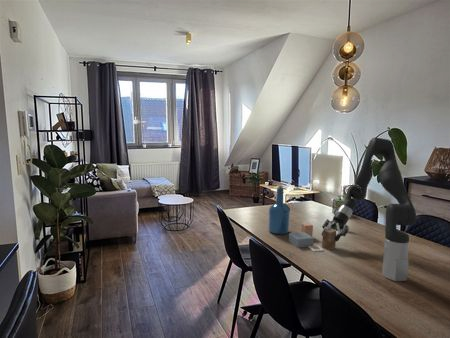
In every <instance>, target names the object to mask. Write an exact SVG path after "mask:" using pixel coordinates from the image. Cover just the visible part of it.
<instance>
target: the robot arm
mask: <svg viewBox="0 0 450 338" xmlns="http://www.w3.org/2000/svg"><path fill="white" fill-rule="evenodd" d="M395 152H396V151H395V148H394V143H393V141H392V140H390V139H386V138H381V137H372V138H371V139H370V140H369V142H368V144H367V147H366V149H365V154H364V157H363V161H362V165H361V166H360V170H359V172H358V174H357V177H356V178H355V181H354V183H355V185H354V184H351V185H349V187H348V188H347V190H346V194H345V198H344V199H345V200H344V202H343V204H342V205H341V207H340V208H339V209H338V211H337V212H336V214H334V215H333V218H332V220H329V219H328V218H327V219H326V220H325V222H324V223H323V224H322V226H321V227H322V230H325V229H332V230H335V231H336V232H337V233H336V237H335V239H334V240H335V241H336V242H338V241H339V240H340V238H341V237H346V235H347V234H348V231H349V229H350V227H349V226H348V224H347V223H348V221H349V220H350V218H351V217H352V214H353V212H354V210H355V209H356V207H357V202H358V201H359V202H363V201H364V200H365V199H366V197H367V193H368V192H367V191H368V186H369V184H370V182H371V180H372V178H373V176H374V175H373V174H374V170H373V165H372V159H373V157H374V156H378V157H382V158H383V159H384V164H383V165H382V166H381V168H380V170H379V173H378V174H379V175H378V176H379V180H380V183H381V186H382V188H384V190H385V191H386V192H387V193H389V194H390V195H391V196H392V197H393V198H394V199H396V201H397V203H389V204H388V205H387V206H386V208H385V225H384V226H385V228H384V231H385V233H384V235H385V236H384V245H383V246H384V247H383V256H382V257H383V259H382V271H381V274H382V276H383V277H384V278H386V279H387V280H388V279H389V280H391V281H393V282H405V281H408V273H409V263H410V261H409V259H408V254H409V242H410V235H409V234H408V233H406V232H405V231H402V230H399V229H398V228H397V226H409V227H410V226H414V225H415V224H416V222H417V213H416V209H415V206H414V204H413V202H412V200H411V198H410V196H409V194H408V192H407V189H406V186H405V183H404V182H405V181H404V179H403V176H402V173H401V170H400V168H399V165H398V162H397V158H396V157H397V156H396V153H395ZM355 200H357V202H356V201H355ZM330 226H331V227H330ZM341 229H342V230H341ZM321 236H322V237H323V231H322V232H321Z"/></svg>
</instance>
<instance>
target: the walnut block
mask: <svg viewBox="0 0 450 338" xmlns="http://www.w3.org/2000/svg"><path fill="white" fill-rule="evenodd" d="M322 232H323V236H322V239H321V241H322V242H321V248H322V249H325V250H328V251H332V250H335V249H336V243H337V241H335V240H334V239H335V237H336V235H337V231H336V230H333V229H328V228H327V229H325V230H324V229H322Z"/></svg>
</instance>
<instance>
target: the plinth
mask: <svg viewBox="0 0 450 338" xmlns="http://www.w3.org/2000/svg"><path fill="white" fill-rule="evenodd" d="M314 239H315V237H313V236H312V237H311V236H310V235H308V234H307V233H305V232H301V231H299V232H291V233H289V232H288V242H289V243H291V244H292V245H294V246H295V247H296V248H305V247H306V248H307V247H308V246H314V241H315V240H314Z"/></svg>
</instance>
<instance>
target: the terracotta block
mask: <svg viewBox="0 0 450 338" xmlns="http://www.w3.org/2000/svg"><path fill="white" fill-rule="evenodd" d="M313 230H314V225H313V224H312V223H310V222H301V230H300V232H305V233H307V234H308V235H310V236H311V237H313V234H314V233H313V232H314V231H313Z"/></svg>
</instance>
